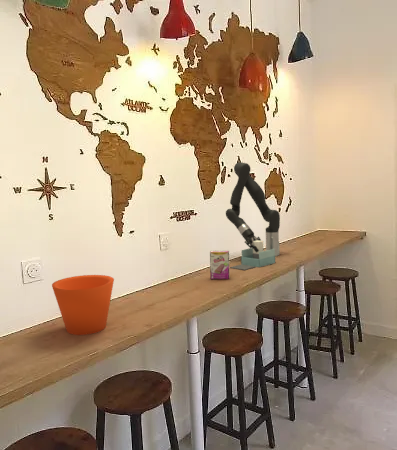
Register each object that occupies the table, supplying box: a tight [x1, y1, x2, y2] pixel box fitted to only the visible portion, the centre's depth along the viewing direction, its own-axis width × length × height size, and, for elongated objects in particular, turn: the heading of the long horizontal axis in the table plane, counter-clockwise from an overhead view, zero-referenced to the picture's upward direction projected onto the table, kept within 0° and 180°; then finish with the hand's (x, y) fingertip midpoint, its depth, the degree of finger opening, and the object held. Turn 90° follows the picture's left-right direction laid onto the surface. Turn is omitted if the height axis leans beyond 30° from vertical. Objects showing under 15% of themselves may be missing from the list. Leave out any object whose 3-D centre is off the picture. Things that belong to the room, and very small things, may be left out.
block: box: [253, 240, 264, 259], centre depth 308 cm, size 5×5×12 cm
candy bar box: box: [209, 249, 231, 280], centre depth 271 cm, size 11×5×16 cm, turn 84°
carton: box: [240, 247, 276, 268], centre depth 308 cm, size 17×15×10 cm
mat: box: [229, 263, 256, 271], centre depth 298 cm, size 11×12×1 cm
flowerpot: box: [51, 274, 115, 336], centre depth 192 cm, size 25×25×20 cm
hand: (260, 250), depth 307 cm, fingers closed on block, 5 cm apart
